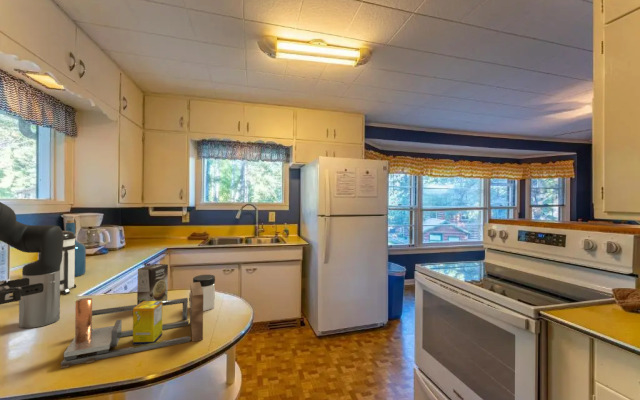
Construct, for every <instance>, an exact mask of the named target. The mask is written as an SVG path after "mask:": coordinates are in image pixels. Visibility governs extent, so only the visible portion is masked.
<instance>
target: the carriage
mask: <svg viewBox="0 0 640 400" xmlns="http://www.w3.org/2000/svg"><path fill="white" fill-rule="evenodd" d="M92 311H93V297H92V298H91V297H85V298H80V299H77V300H76V301H75V315H74V316H75V320H74V322H75V325H74V326H75V330H74V331H75V332H74V334H75V335H74V338H73V339H72V341H71V342H70V344H69V345H68V346H67V348H66V350H64V352H63V360H64V361H65V360H70V359H76V358H77V357H79V355H85V354H91V352H96V351H97V354H102V353H107V352H108V351H110V348H116V347H118V344H119V341H120V339H121V337H120V336H121V332H122V319H117V320H116V321H115V323H114V325H110V326H109V325H108V326H104V327H97V328H93V316H92Z"/></svg>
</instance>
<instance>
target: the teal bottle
mask: <svg viewBox="0 0 640 400" xmlns="http://www.w3.org/2000/svg"><path fill="white" fill-rule="evenodd" d="M76 228H77V227H76V222H74V219H68V220H67V222H66V223H65V227H64V229H65V231H70V232H73V233H74V235H75V236H76ZM86 256H87V248H86V246H85V244H84V243H82V242H81V241H77V240H76V238H75V278H77V277H80V276H82V275H84V274H86V271H87V270H86V267H87V266H86V263H87V261H86V260H87V257H86Z"/></svg>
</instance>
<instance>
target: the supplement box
mask: <svg viewBox="0 0 640 400" xmlns="http://www.w3.org/2000/svg"><path fill="white" fill-rule="evenodd" d="M162 325H163V306H162V301H143V302H142V303H141V304H139V305H138V306H136V307H135V308H133V310H132V330H133V335H132V344H133V346H139V345H144V344H149V343H155V342H158V340H159V338H161V336H163V330H162Z"/></svg>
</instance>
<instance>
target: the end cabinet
mask: <svg viewBox="0 0 640 400" xmlns="http://www.w3.org/2000/svg"><path fill="white" fill-rule="evenodd" d="M189 287H190V288H189V289H190V290H189V291H190V292H189V297H188V302H189V316H190V317H189V321H190V322H189V324H190V325H189V326H190V337H191V341H192V342H197V341H202V340H203V338H204V337H203V336H204V311H203V291H202V288H201V284H200V282H194V283H193V282H190V285H189Z"/></svg>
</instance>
